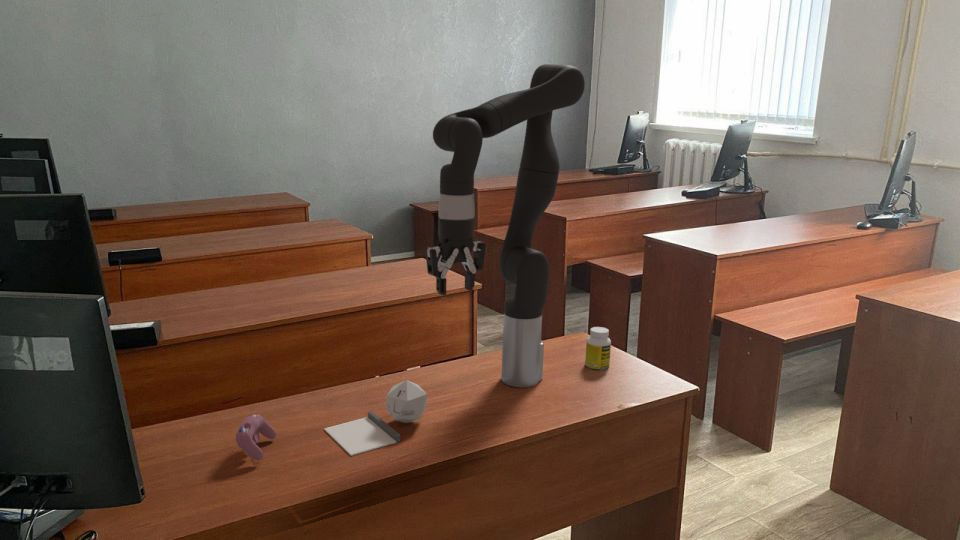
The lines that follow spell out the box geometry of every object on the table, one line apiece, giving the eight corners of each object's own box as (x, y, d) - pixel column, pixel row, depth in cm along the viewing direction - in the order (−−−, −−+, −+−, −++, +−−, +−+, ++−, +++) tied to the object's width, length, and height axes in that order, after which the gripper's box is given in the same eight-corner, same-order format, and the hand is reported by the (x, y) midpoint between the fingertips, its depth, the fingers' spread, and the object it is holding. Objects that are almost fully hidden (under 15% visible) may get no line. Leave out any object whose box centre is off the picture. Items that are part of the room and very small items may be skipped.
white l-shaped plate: (371, 417, 157) (371, 410, 156) (400, 441, 147) (400, 434, 146) (324, 429, 151) (324, 423, 150) (351, 456, 140) (350, 449, 140)
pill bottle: (603, 376, 182) (606, 335, 179) (580, 371, 185) (583, 330, 182) (612, 369, 187) (615, 328, 184) (590, 363, 190) (593, 324, 187)
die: (378, 427, 153) (377, 383, 150) (401, 410, 160) (401, 368, 158) (411, 436, 149) (411, 391, 146) (434, 419, 156) (434, 376, 154)
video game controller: (257, 441, 147) (246, 410, 145) (278, 436, 146) (267, 405, 145) (240, 466, 137) (228, 433, 135) (263, 460, 137) (250, 428, 135)
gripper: (474, 209, 157) (473, 283, 161) (417, 215, 149) (417, 292, 153) (495, 214, 151) (492, 291, 155) (436, 221, 143) (435, 301, 147)
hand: (455, 291), depth 154 cm, fingers open, 6 cm apart
